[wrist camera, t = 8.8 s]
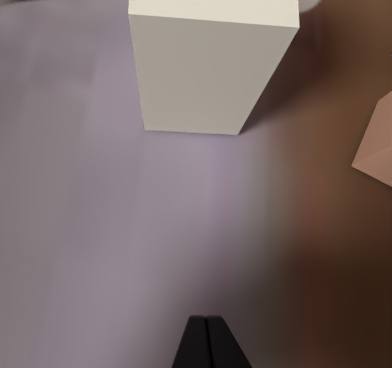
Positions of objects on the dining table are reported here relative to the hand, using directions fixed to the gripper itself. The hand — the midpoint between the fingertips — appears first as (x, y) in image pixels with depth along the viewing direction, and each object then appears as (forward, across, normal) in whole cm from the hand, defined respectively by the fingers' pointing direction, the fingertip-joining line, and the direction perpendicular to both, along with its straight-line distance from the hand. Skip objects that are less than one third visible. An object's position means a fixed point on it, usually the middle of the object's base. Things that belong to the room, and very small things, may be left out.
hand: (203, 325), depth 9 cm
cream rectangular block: (+11, 0, -3) cm, 12 cm away
